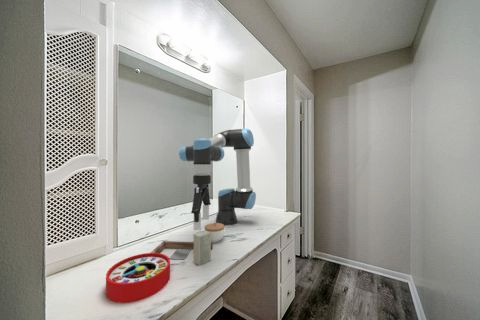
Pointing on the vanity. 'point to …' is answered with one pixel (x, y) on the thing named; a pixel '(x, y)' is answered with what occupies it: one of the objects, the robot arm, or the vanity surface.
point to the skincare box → (202, 247)
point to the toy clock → (137, 277)
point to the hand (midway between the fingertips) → (201, 224)
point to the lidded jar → (215, 231)
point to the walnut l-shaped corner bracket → (179, 253)
